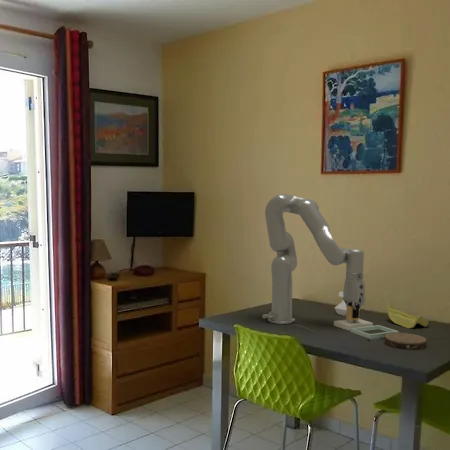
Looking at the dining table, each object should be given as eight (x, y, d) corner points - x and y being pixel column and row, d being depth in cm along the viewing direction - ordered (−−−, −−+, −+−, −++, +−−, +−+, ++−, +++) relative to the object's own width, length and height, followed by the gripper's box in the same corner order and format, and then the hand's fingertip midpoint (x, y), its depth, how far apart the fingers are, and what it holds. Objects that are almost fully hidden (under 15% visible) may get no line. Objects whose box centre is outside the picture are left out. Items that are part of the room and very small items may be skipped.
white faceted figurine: (352, 318, 260) (353, 290, 259) (331, 313, 271) (331, 286, 270) (363, 316, 265) (364, 289, 264) (342, 311, 276) (343, 285, 275)
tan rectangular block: (350, 324, 236) (351, 306, 236) (345, 323, 239) (346, 305, 238) (359, 324, 238) (359, 305, 238) (354, 322, 241) (355, 304, 241)
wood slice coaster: (381, 339, 222) (381, 331, 222) (420, 340, 221) (420, 333, 221) (389, 349, 207) (389, 342, 207) (431, 351, 205) (431, 343, 205)
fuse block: (348, 332, 231) (348, 325, 231) (333, 327, 240) (333, 321, 240) (372, 329, 237) (372, 322, 237) (357, 324, 246) (357, 318, 246)
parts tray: (369, 341, 218) (370, 335, 218) (350, 334, 228) (350, 328, 228) (398, 337, 225) (398, 331, 225) (378, 330, 236) (378, 325, 236)
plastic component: (431, 322, 244) (417, 314, 239) (424, 336, 243) (411, 329, 239) (399, 310, 262) (386, 303, 257) (393, 324, 261) (380, 317, 256)
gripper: (373, 278, 232) (371, 320, 233) (348, 273, 246) (347, 312, 247) (360, 279, 229) (358, 321, 230) (336, 274, 243) (334, 313, 244)
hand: (352, 316), depth 238 cm, fingers closed on tan rectangular block, 3 cm apart
